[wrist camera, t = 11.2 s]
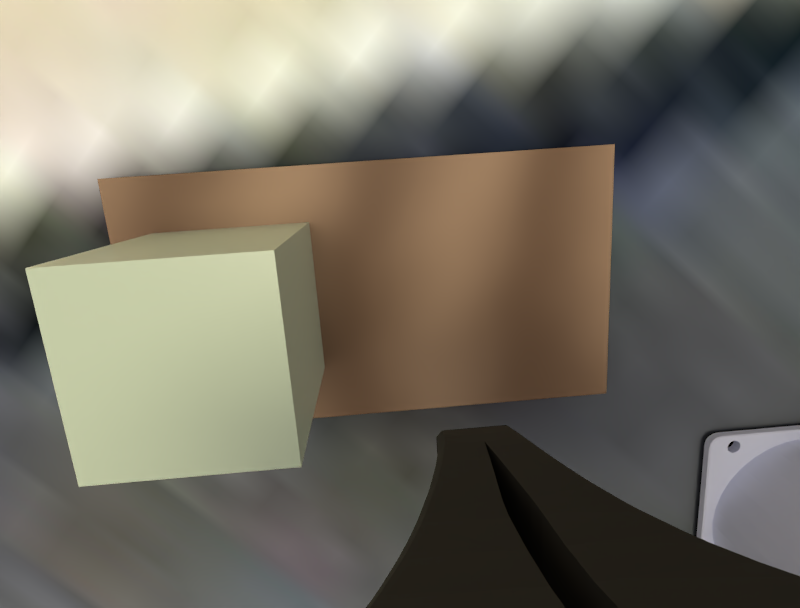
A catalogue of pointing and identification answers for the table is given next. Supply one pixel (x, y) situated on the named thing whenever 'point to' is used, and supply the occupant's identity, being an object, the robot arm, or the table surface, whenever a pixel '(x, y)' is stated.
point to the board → (426, 267)
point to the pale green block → (184, 352)
